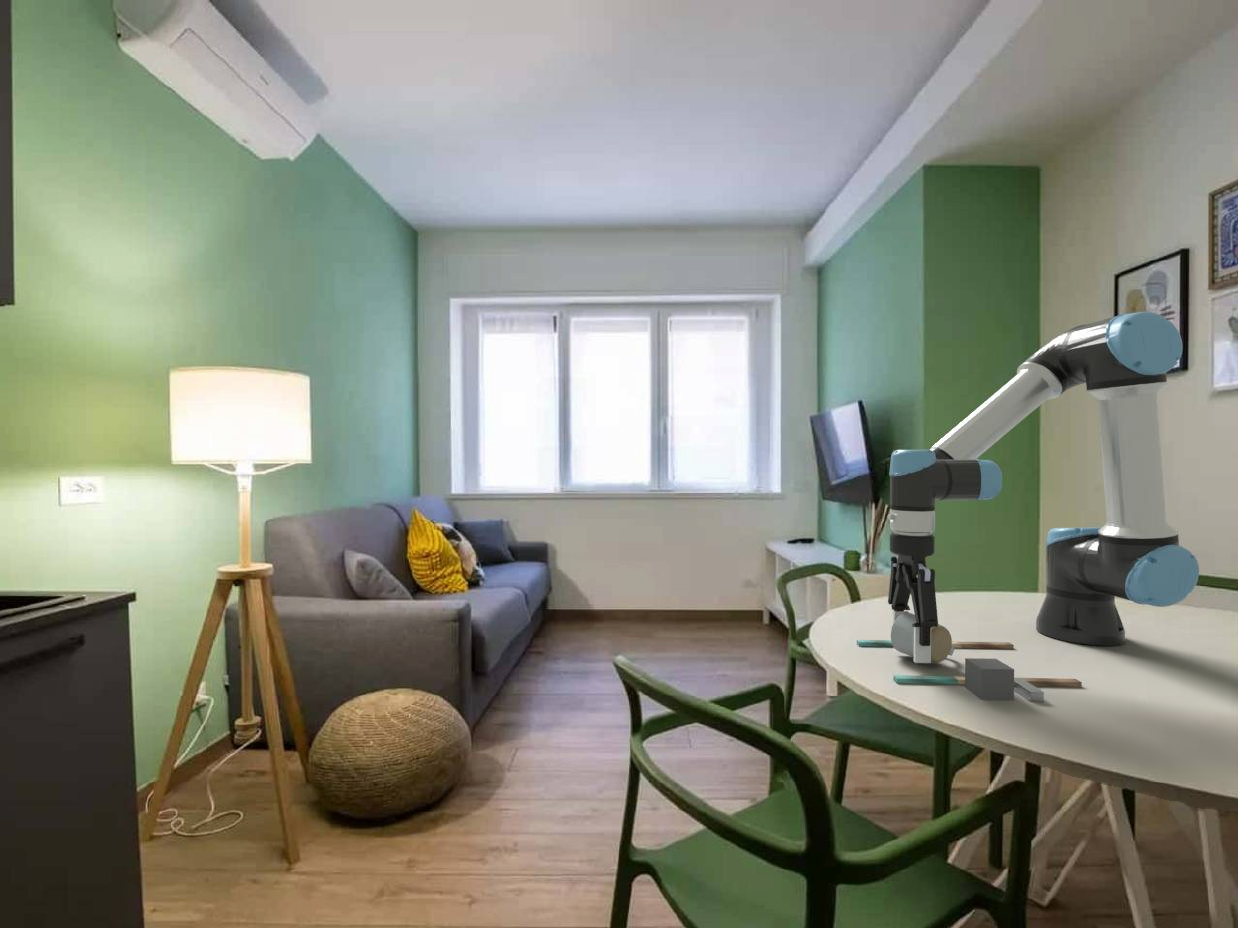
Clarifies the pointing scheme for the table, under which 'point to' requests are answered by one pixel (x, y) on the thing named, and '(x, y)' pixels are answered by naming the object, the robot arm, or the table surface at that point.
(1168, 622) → the table surface
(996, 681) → the block
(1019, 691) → the bar
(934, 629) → the ceramic mug
